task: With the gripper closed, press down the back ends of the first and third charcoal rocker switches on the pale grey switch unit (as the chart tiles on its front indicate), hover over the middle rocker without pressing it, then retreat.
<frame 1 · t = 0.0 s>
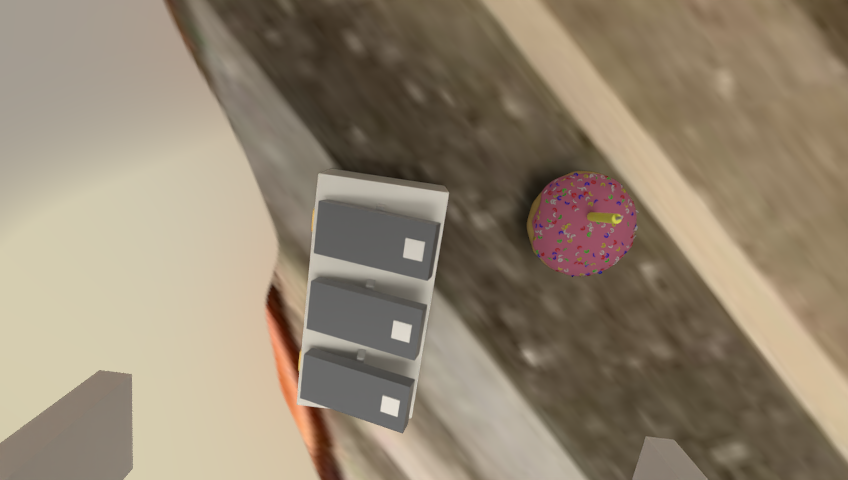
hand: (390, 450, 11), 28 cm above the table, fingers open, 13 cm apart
cupcake: (562, 214, 38), on the table
rocker 3: (355, 389, 33), point 7 cm above the table, hinge at 18.0°
switch unit: (374, 284, 39), on the table
rocker 1: (374, 238, 31), point 7 cm above the table, hinge at 18.0°
rocker 2: (364, 317, 32), point 7 cm above the table, hinge at 18.0°
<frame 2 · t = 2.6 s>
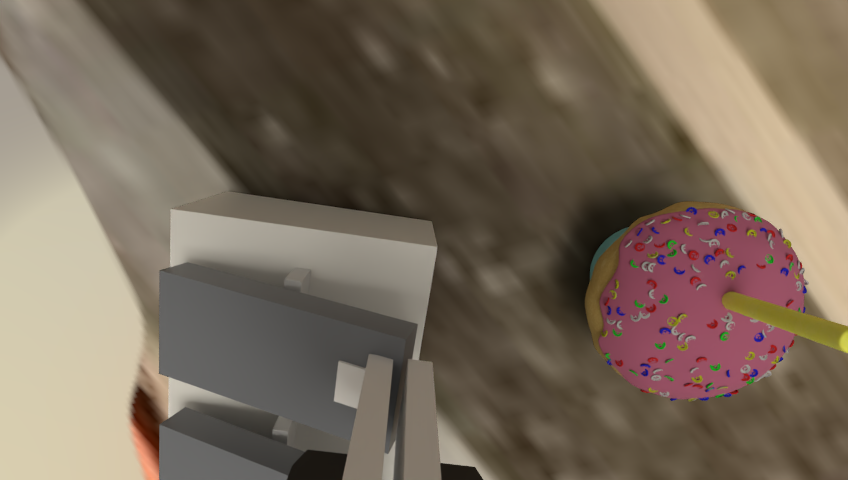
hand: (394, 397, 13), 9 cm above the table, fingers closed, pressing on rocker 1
cupcake: (634, 268, 22), on the table
switch unit: (313, 385, 23), on the table
rocker 1: (279, 351, 14), point 7 cm above the table, hinge at 17.5°, touching gripper
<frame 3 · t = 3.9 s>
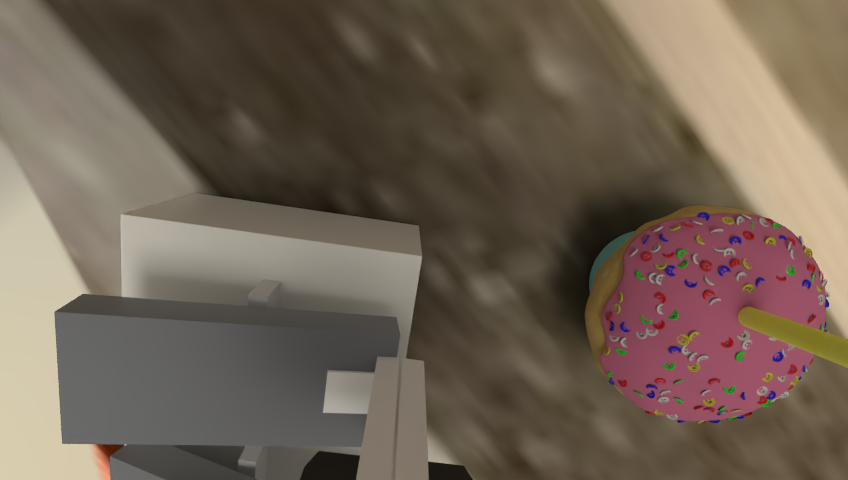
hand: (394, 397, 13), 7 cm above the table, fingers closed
cupcake: (637, 276, 21), on the table
switch unit: (291, 401, 21), on the table
rocker 1: (241, 376, 13), point 7 cm above the table, hinge at -7.4°, touching gripper
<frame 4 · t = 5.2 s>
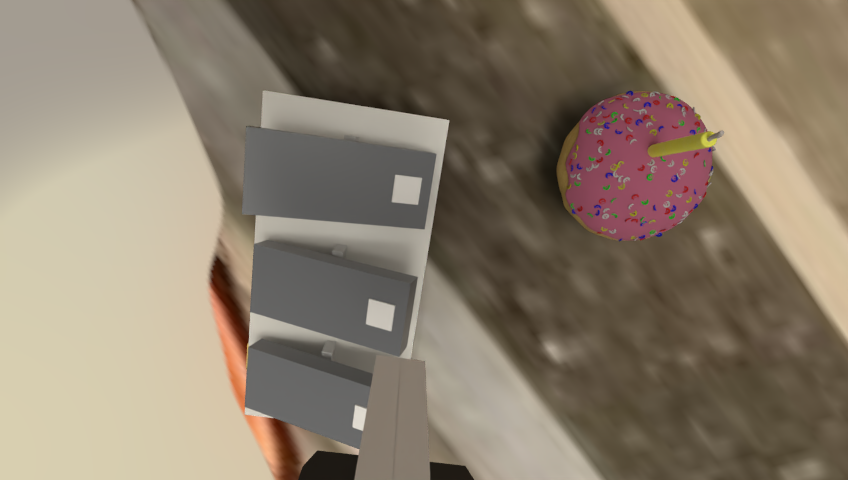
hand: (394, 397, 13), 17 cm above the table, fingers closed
cupcake: (599, 162, 29), on the table
rocker 3: (319, 395, 24), point 7 cm above the table, hinge at 18.0°
switch unit: (350, 255, 30), on the table
rocker 1: (342, 180, 21), point 7 cm above the table, hinge at -15.1°
rocker 2: (329, 295, 23), point 7 cm above the table, hinge at 18.0°
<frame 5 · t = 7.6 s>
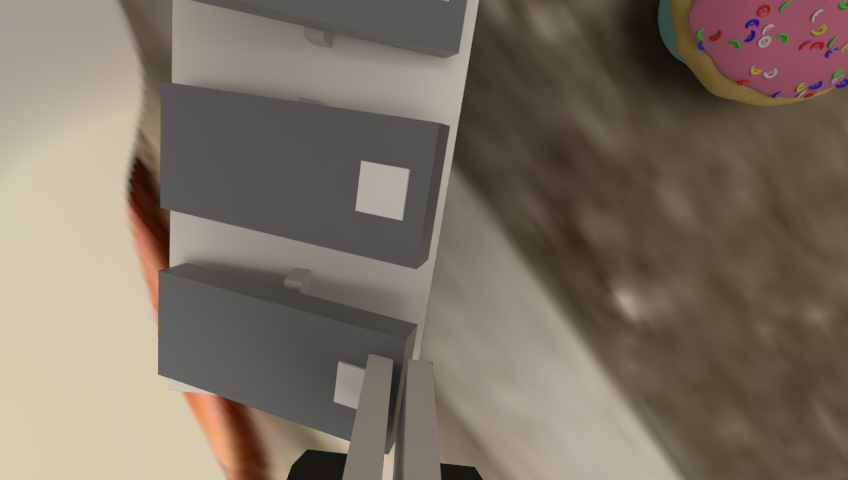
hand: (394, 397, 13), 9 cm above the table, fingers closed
cupcake: (709, 12, 19), on the table
rocker 3: (278, 351, 14), point 7 cm above the table, hinge at 17.2°, touching gripper
switch unit: (336, 157, 20), on the table
rocker 2: (293, 170, 13), point 7 cm above the table, hinge at 18.0°
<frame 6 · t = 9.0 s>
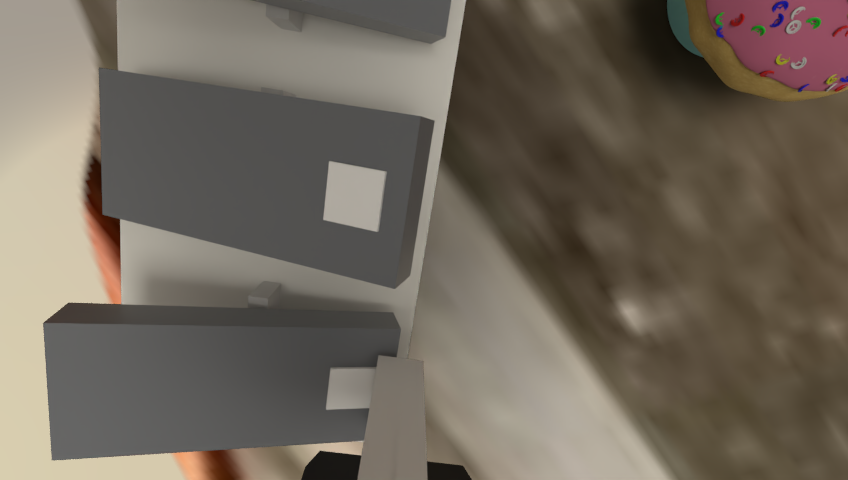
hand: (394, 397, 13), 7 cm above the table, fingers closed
rocker 3: (241, 378, 13), point 7 cm above the table, hinge at -13.8°, touching gripper
switch unit: (315, 156, 18), on the table
rocker 2: (253, 171, 11), point 7 cm above the table, hinge at 18.0°
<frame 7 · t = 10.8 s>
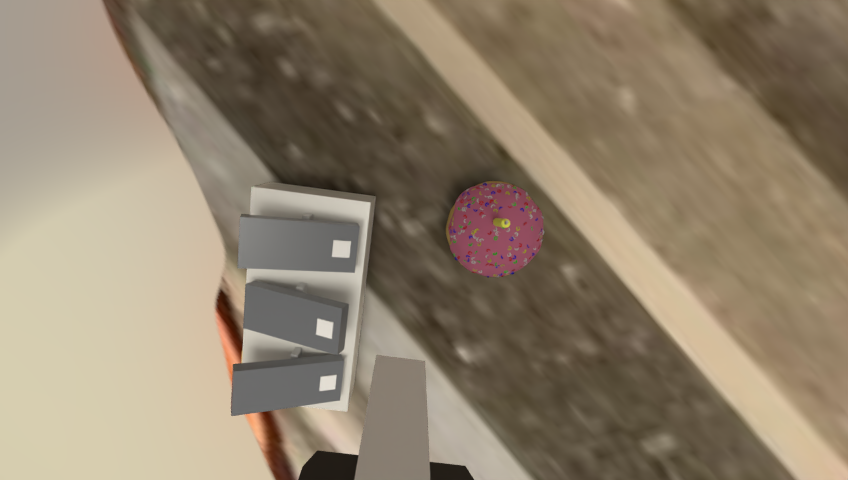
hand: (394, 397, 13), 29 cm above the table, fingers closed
cupcake: (486, 220, 42), on the table
rocker 3: (289, 383, 36), point 7 cm above the table, hinge at -24.5°, touching switch unit
switch unit: (315, 287, 42), on the table
rocker 1: (300, 244, 34), point 7 cm above the table, hinge at -16.2°
rocker 2: (294, 316, 35), point 7 cm above the table, hinge at 18.0°
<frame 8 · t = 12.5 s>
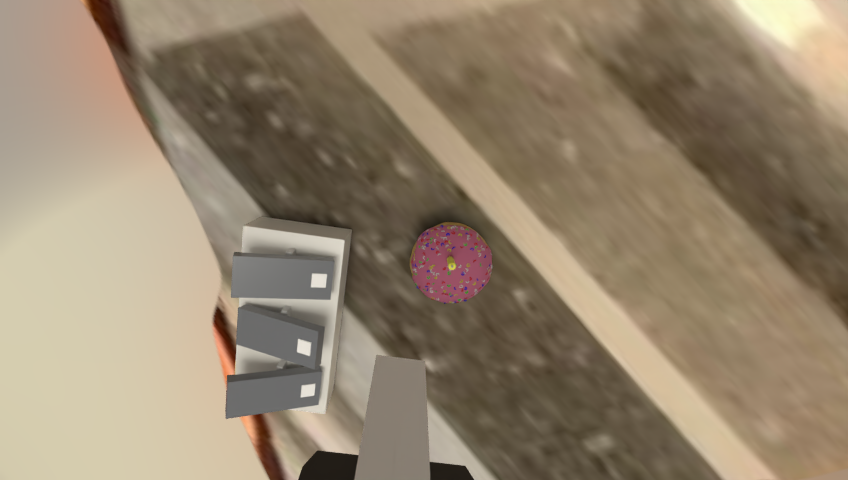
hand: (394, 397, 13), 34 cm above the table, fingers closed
cupcake: (447, 251, 48), on the table
rocker 3: (275, 391, 43), point 7 cm above the table, hinge at -24.9°, touching switch unit
switch unit: (299, 306, 49), on the table
rocker 1: (284, 276, 40), point 7 cm above the table, hinge at -16.2°
rocker 2: (279, 335, 42), point 7 cm above the table, hinge at 18.0°
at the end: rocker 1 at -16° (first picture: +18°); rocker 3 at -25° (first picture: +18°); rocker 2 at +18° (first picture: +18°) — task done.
